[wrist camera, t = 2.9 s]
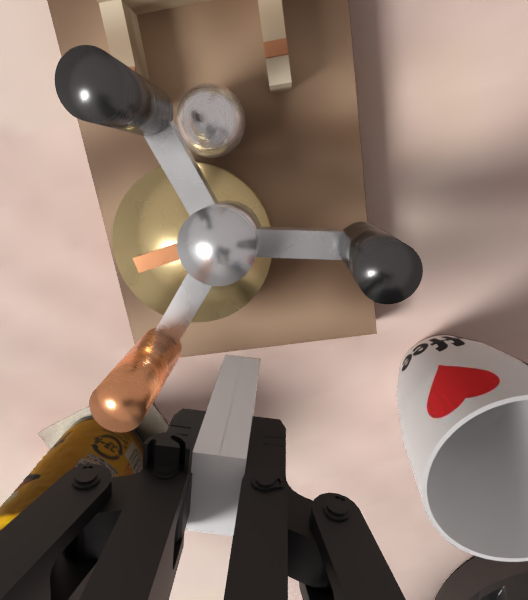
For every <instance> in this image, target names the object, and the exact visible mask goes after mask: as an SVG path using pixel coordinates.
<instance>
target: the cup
mask: <svg viewBox="0 0 528 600" xmlns="http://www.w3.org/2000/svg"><path fill="white" fill-rule="evenodd" d="M396 397H397V405H398V412H399V418H400V425H401V431H402V438H403V443H404V446H405V449H406V452H407V455H408V459H409V462H410V465H411V468H412V471H413V474H414V477H415V480H416V483H417V486H418V489H419V492H420V495H421V498H422V501H423V504H424V507H425V510H426V513H427V515H428V517H429V519H430V521H431V523H432V524H433V526H434V527H435V529H436V530H437V531H438V532H439V533H440V534H441V535H442V536H443V537H444V538H445V539H446V540H447V541H448V542H450V543H451V544H453V545H454V546H456V547H457V548H459V549H461V550H463V551H465V552H467V553H469V554H472V555H475V556H478V557H481V558H485V559H489V560H495V561H505V562H522V561H528V364H527V363H525V362H523V361H521V360H518V359H516V358H514V357H512V356H510V355H508V354H506V353H504V352H501V351H499V350H497V349H495V348H493V347H491V346H489V345H487V344H484V343H482V342H478V341H474V340H470V339H465V338H460V337H455V336H449V335H438V336H433V337H429V338H426V339H424V340H422V341H420V342H418V343H417V344H415V345H414V346H413V347H412V348H411V349H410V350H409V351H408V352H407V353H406V355H405V356H404V358H403V360H402V362H401V365H400V369H399V376H398V384H397V394H396Z"/></svg>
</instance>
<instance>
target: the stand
mask: <svg viewBox="0 0 528 600" xmlns="http://www.w3.org/2000/svg"><path fill="white" fill-rule="evenodd" d="M47 1H48V5H49V9H50V13H51V17H52V21H53V24H54V28H55V32H56V36H57V40H58V44H59V48H60V52H61V56H63V55H64V54H65V53H66V52H67V51H68V50H70V49H72V48H73V47H76V46H80V45H92V46H96V47H98V48H101V49H102V50H104V51H106V52H107V53H109V54H110V55H112V56H113V57H115V58H116V59H118V60H119V61H121V62H122V63H124V64H125V65H127V66H128V67H130V68H131V69H132V70H134V71H135V72H137V73H138V74H140V75H141V76H143V77H144V78H146V79H147V80H149V81H150V82H152V83H153V84H155V85H156V86H158V87H159V88H161V89H162V90H163V91H164V92H165V93H166V94H167V95H168V96H169V98H170V100H171V102H172V105H173V112H174V113H173V121H174V123H175V125H176V111H177V107H178V104H179V102H180V100H181V98H182V97H183V95H184V94H185V93H186V92H187V91H188V90H190V89H191V88H193V87H194V86H196V85H199V84H203V83H215V84H219V85H222V86H224V87H226V88H227V89H229V90H230V91H231V92H232V93H234V94H235V96H236V97H237V98H238V99H239V101H240V103H241V105H242V107H243V110H244V114H245V131H244V134H243V137H242V139H241V141H240V143H239V144H238V146H237V147H236V148H235V149H234V150H233V151H231V152H230V153H228V154H227V155H224V156H221V157H217V158H207V157H203V156H200V155H198V154H196V153H194V152H193V151H191V150H190V149H189V150H190V152H191V153H192V155H193V157H194V159H195V160H196V162H198V163H205V164H212V165H215V166H219V167H222V168H224V169H226V170H229V171H231V172H233V173H234V174H236V175H238V176H239V177H240V178H242V179H243V180H244V181H245V182H247V183H248V184H249V185H250V186H251V187H252V188H253V189H254V190H255V192H256V193H257V194H258V196H259V197H260V198H261V200H262V202H263V204H264V205H265V207H266V209H267V212H268V214H269V217H270V221H271V224H272V227H294V228H329V229H345V228H346V227H347V226H348V225H350V224H352V223H355V222H367V213H366V201H365V190H364V178H363V166H362V154H361V142H360V130H359V119H358V107H357V95H356V83H355V71H354V59H353V48H352V36H351V24H350V12H349V0H47ZM77 119H78V118H77ZM78 123H79V127H80V131H81V135H82V138H83V142H84V146H85V150H86V154H87V158H88V162H89V166H90V170H91V174H92V178H93V182H94V186H95V190H96V194H97V197H98V201H99V205H100V209H101V213H102V217H103V221H104V225H105V229H106V233H107V237H108V241H109V245H110V249H111V253H112V256H113V260H114V264H115V268H116V272H117V276H118V280H119V284H120V288H121V292H122V296H123V300H124V304H125V308H126V311H127V315H128V319H129V323H130V327H131V331H132V335H133V339H134V343H135V344H136V343H137V342H138V341H139V340H140V339H141V337H142V336H143V335H144V334H145V333H146V332H147V331H149V330H150V329H153V328H157V326H158V324H159V323H160V321H161V319H162V317H163V316H164V315H161V314H160V313H158V312H156V311H154V310H152V309H151V308H150V307H148V306H147V305H145V304H144V303H143V302H142V301H141V300H140V299H139V298H137V297H136V295H135V294H134V293H133V292H132V291H131V290H130V288H129V287H128V285H127V284H126V282H125V281H124V279H123V277H122V275H121V273H120V271H119V269H118V266H117V263H116V260H115V256H114V252H113V243H112V232H113V224H114V219H115V216H116V212H117V209H118V207H119V205H120V203H121V201H122V199H123V197H124V196H125V194H126V193H127V191H128V190H129V189H130V188H131V187H132V186H133V184H134V183H135V182H137V181H138V180H139V179H140V178H141V177H142V176H144V175H146V174H147V173H149V172H150V171H152V170H154V169H157V168H159V167H161V165H160V163H159V162H158V160H157V158H156V157H155V155H154V153H153V151H152V150H151V148H150V146H149V145H148V143H147V141H146V139H145V138H144V136H140V135H137V134H133V133H129V132H125V131H121V130H117V129H113V128H109V127H105V126H102V125H98V124H94V123H90V122H86V121H83V120H80V119H78ZM369 334H377V332H376V320H375V308H374V301H373V300H371V299H369V298H368V297H367V296H366V295H365V294H364V293H363V292H362V290H361V289H360V287H359V286H358V284H357V283H356V281H355V279H354V278H353V276H352V275H351V273H350V272H349V270H348V268H347V267H346V265H345V264H344V262H343V260H326V259H295V258H272V259H271V264H270V267H269V271H268V274H267V276H266V278H265V281H264V283H263V285H262V286H261V288H260V290H259V291H258V292H257V294H256V295H255V296H254V297H253V299H252V300H250V301H249V302H248V303H247V304H246V305H245V306H244V307H242V308H241V309H240V310H238V311H237V312H235V313H233V314H231V315H229V316H227V317H224V318H222V319H218V320H214V321H210V322H201V323H198V322H191V323H190V324H189V326H188V328H187V330H186V331H185V333H184V335H183V336H182V338H181V340H180V342H181V346H182V352H181V355H180V357H188V356H196V355H204V354H212V353H221V352H229V351H237V350H245V349H253V348H262V347H270V346H278V345H286V344H295V343H303V342H311V341H319V340H327V339H336V338H344V337H352V336H360V335H369Z"/></svg>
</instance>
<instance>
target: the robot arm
mask: <svg viewBox="0 0 528 600" xmlns="http://www.w3.org/2000/svg"><path fill="white" fill-rule="evenodd" d="M259 366H260V359H257V358H249V357H241V356H232V355H225V357H224V360H223V363H222V366H221V369H220V372H219V375H218V378H217V381H216V384H215V387H214V390H213V393H212V396H211V399H210V402H209V405H208V408H207V411H199V410H191V409H182V410H181V411H179V412H178V413H177V414H175V415H174V416H173V419H172V421H171V423H170V426H169V427H168V429H167V432H163V433H159V434H155V435H153V436H151V437H149V438H148V439H147V440H146V441H145V442H144V443H143V468H142V470H141V472H138V473H135V474H132V475H127V476H119V477H112V474H111V472H110V470H109V469H108V468H106V467H104V466H103V465H98V464H84V465H81V466H78V467H75V468H73V469H71V470H70V471H68V472H67V473H65V474H64V475H63V476H62V477H61V478H59V479H58V480H57V481H56V482H55V483H54V484H53V485H52V486H50V487H49V488H48V489H47V490H46V491H45V492H44V493H42V494H41V495H40V496H39V497H38V498H37V499H36V500H34V501H33V502H32V503H31V504H30V505H29V506H28V507H27V508H25V509H24V510H23V511H22V512H21V513H20V514H19V515H17V516H16V517H15V518H14V519H13V520H12V521H11V522H9V523H8V524H7V525H6V526H5V527H4V528H3V529H2V530H0V600H169V596H170V593H171V589H172V586H173V582H174V578H175V575H176V571H177V567H178V564H179V560H180V556H181V553H182V549H183V543H184V531H185V528H186V524H187V530H188V531H196V532H203V533H211V534H219V535H226V536H233V542H232V548H231V555H230V562H229V568H228V575H227V581H226V588H225V595H224V600H288V576H289V577H291V578H293V579H295V580H297V581H299V586H300V591H301V594H302V598H303V600H406V599H405V597H404V595H403V593H402V592H401V590H400V588H399V586H398V584H397V582H396V580H395V578H394V576H393V574H392V572H391V570H390V568H389V566H388V564H387V562H386V560H385V558H384V556H383V554H382V552H381V551H380V549H379V547H378V545H377V543H376V541H375V539H374V537H373V535H372V533H371V531H370V529H369V527H368V525H367V523H366V521H365V519H364V517H363V515H362V513H361V511H360V510H359V508H358V507H357V506H356V504H355V503H354V502H353V501H351V500H350V499H349V498H347V497H345V496H342V495H340V494H336V493H325V494H321V495H319V496H318V497H316V498H315V499H314V501H313V500H310V499H307V498H305V497H303V496H301V495H299V494H297V493H296V492H295V491H293V490H292V489H291V487H290V486H289V485H288V483H287V481H286V448H285V447H286V428H285V427H284V425H283V424H282V422H281V420H279V419H271V418H263V417H255V416H254V409H255V400H256V392H257V383H258V375H259ZM187 521H188V522H187ZM435 600H528V561H522V562H505V561H495V560H489V559H485V558H481V557H478V556H476V557H474V558H472V559H471V560H469V561H468V562H466V563H465V564H464V565H462V566H461V567H460V568H459V569H457V570H456V571H455V572H454V573H453V574H452V575H451V576H450V577H449V578H448V579H447V580H446V582H445V583H444V584H443V586H442V587H441V589H440V590H439V592H438V594H437V596H436V598H435Z"/></svg>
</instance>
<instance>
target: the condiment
mask: <svg viewBox="0 0 528 600" xmlns="http://www.w3.org/2000/svg"><path fill="white" fill-rule="evenodd" d="M168 427H169V426H168V425H167V423H166V422H165V420H164V418H163V416H162V415H161V414H160V413H159V412H158V411H157V409H156V408H155V406H154V405H153V403H152V405H151V407H150V409H149V410H148V412H147V414H146V415H145V417H144V419H143V421H142V422H141V424H140V425H139V426H138V427H137V428H135V429H133V430H131V431H128V432H113V431H110V430H107V429H105V428H104V427H102V426H101V425H99V424H98V423H97V422H96V421H95V419H94V418H93V416H92V414H91V411H90V407H89V406H88V407H86V408H84V409H82V410H80V411H78V412H76V413H75V414H73V415H71V416H69V417H67V418H65V419H63V420H61V421H59V422H57V423H55V424H54V425H51V426H49V427H48V428H46V429H44V430H42V431H40V432H39V433H37V434H38V435H39V436H40V437H41V438H42V440H43V441H44V442H45V443H46V445H47V446H48V447H49V448H50V450H49V452H48V453H47V454H46V455H45V456H44V457H43V459H42V460H41V461H40V462H39V463H38V464H37V466H36V467H35V468H34V469H33V471H32V472H31V473H30V474H29V475H28V476H27V477H26V478H25V479H24V481H23V482H22V483H21V484H20V485H19V487H18V488H17V489H16V490H15V491H14V493H13V494H12V495H11V496H10V497H9V498H8V499H7V500H6V501H5V502H4V503H3V505H2V506H1V507H0V530H2V529H3V528H4V527H5V526H6V525H7V524H8V523H9V522H11V521H12V520H13V519H14V518H15V517H16V516H17V515H19V514H20V513H21V512H22V511H23V510H24V509H25V508H27V507H28V506H29V505H30V504H31V503H32V502H33V501H34V500H36V499H37V498H38V497H39V496H40V495H41V494H42V493H44V492H45V491H46V490H47V489H48V488H49V487H50V486H52V485H53V484H54V483H55V482H56V481H57V480H58V479H59V478H61V477H62V476H63V475H64V474H65V473H67V472H68V471H70V470H71V469H73V468H75V467H78V466H81V465H84V464H98V465H103V466H104V467H106V468H108V469H109V470H110V472H111V474H112V477H119V476H127V475H132V474H135V473H138V472H141V470H142V468H143V443H144V442H145V441H146V440H147V439H148V438H149V437H151V436H153V435H155V434H159V433H163V432H167V429H168Z"/></svg>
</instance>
